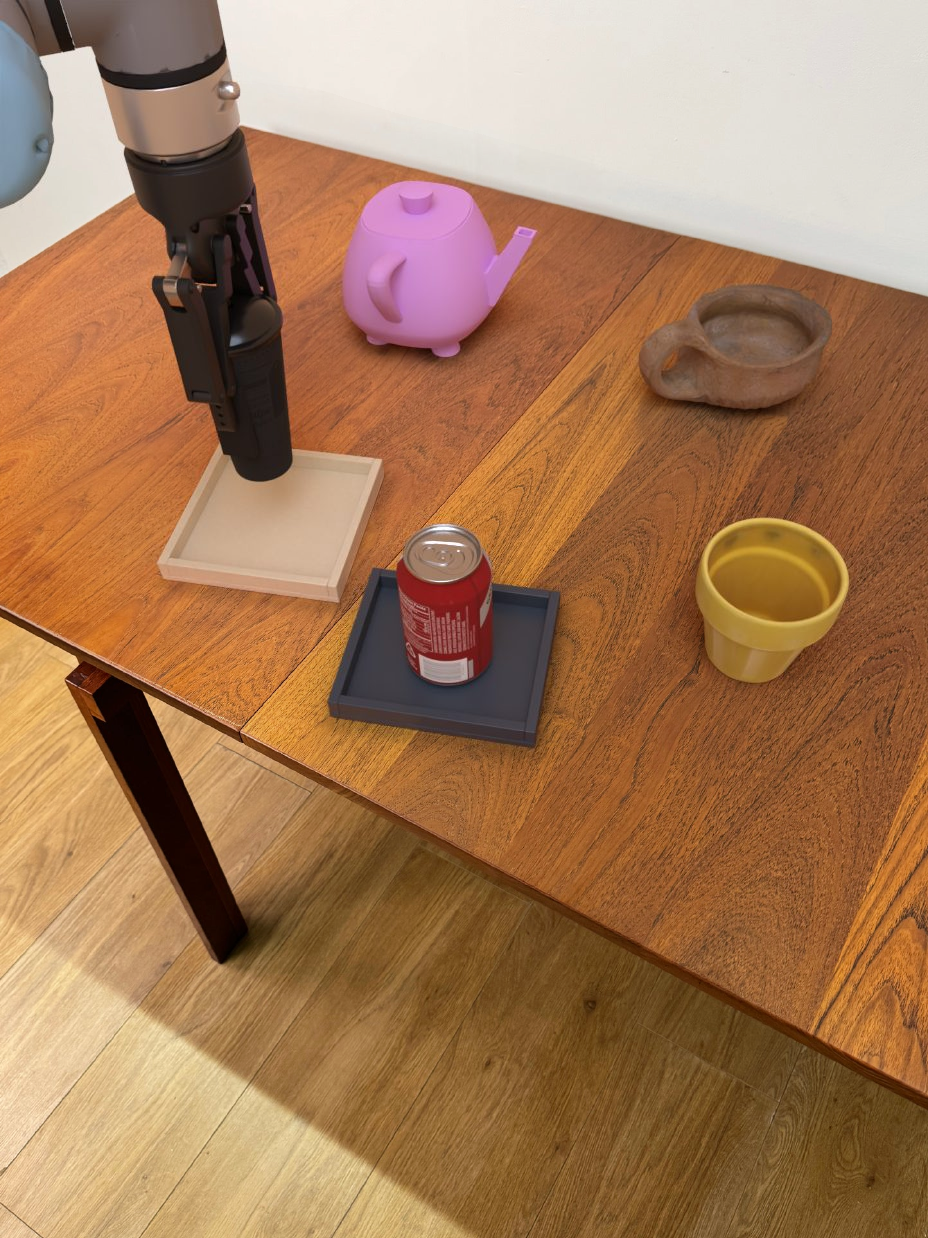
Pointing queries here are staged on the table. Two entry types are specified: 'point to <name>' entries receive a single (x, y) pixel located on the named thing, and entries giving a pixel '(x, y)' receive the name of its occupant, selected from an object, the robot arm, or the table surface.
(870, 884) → the table surface
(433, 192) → the teapot
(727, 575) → the flower pot
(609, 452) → the table surface
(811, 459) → the table surface
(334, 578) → the cup tray
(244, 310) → the drinking cup
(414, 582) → the soda can
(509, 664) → the can tray
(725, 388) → the bowl
